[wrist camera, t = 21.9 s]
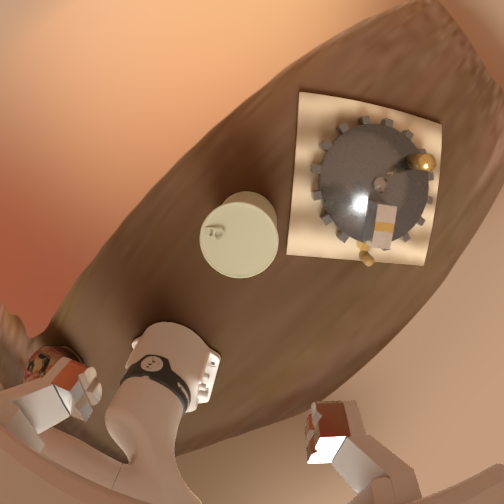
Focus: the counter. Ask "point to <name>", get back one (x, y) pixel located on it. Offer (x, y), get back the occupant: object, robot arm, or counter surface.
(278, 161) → the counter surface
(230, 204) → the can
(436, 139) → the plate
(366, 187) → the sprocket
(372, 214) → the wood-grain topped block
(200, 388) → the robot arm
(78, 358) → the ceramic jug
